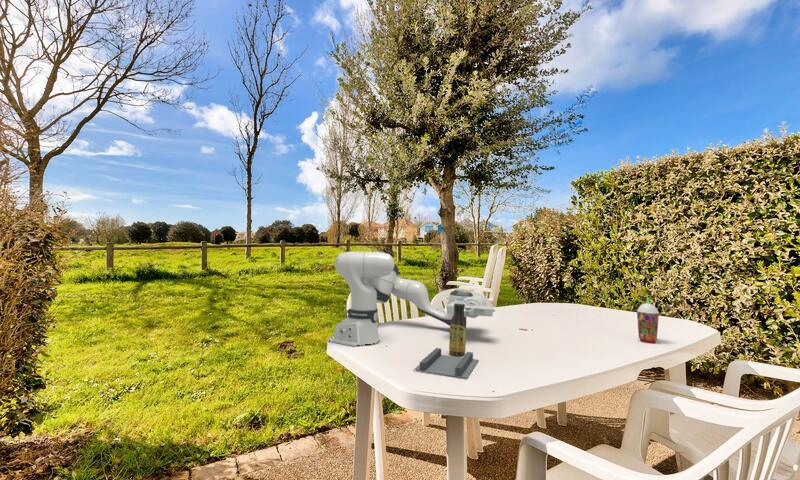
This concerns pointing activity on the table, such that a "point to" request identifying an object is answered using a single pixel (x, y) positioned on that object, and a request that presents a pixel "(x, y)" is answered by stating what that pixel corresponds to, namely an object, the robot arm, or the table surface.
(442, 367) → the holder
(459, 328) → the sauce bottle
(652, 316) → the smoothie
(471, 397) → the table surface
